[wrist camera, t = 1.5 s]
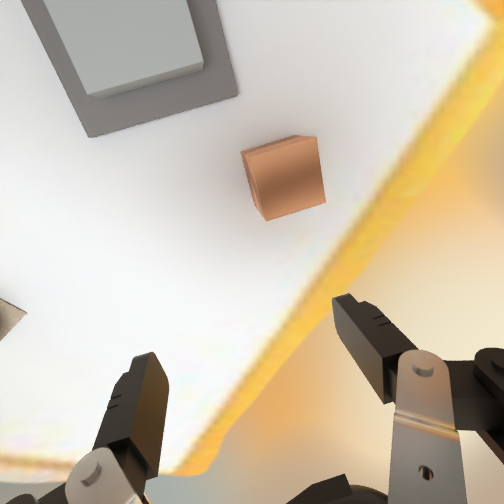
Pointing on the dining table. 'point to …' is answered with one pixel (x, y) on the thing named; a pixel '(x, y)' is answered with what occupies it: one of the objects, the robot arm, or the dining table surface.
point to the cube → (285, 176)
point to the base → (151, 96)
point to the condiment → (8, 317)
